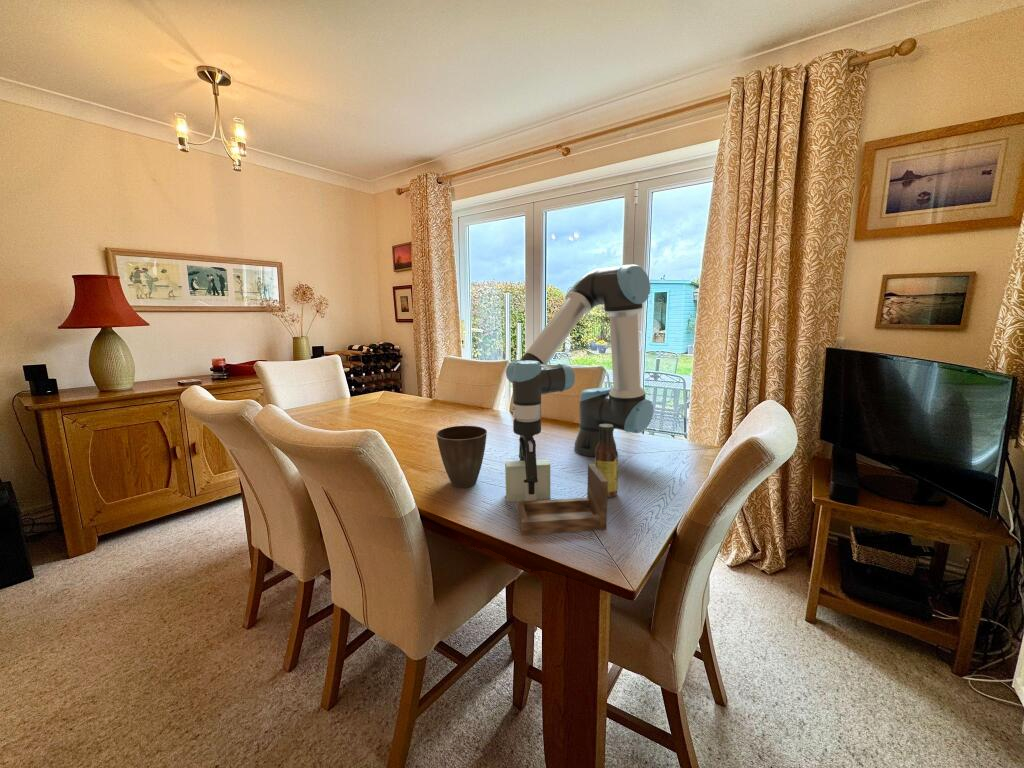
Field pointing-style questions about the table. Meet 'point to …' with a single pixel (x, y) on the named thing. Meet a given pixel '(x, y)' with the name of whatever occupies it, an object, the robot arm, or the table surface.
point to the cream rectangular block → (517, 475)
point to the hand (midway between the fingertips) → (527, 493)
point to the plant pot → (462, 453)
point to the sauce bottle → (607, 458)
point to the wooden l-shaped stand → (567, 510)
